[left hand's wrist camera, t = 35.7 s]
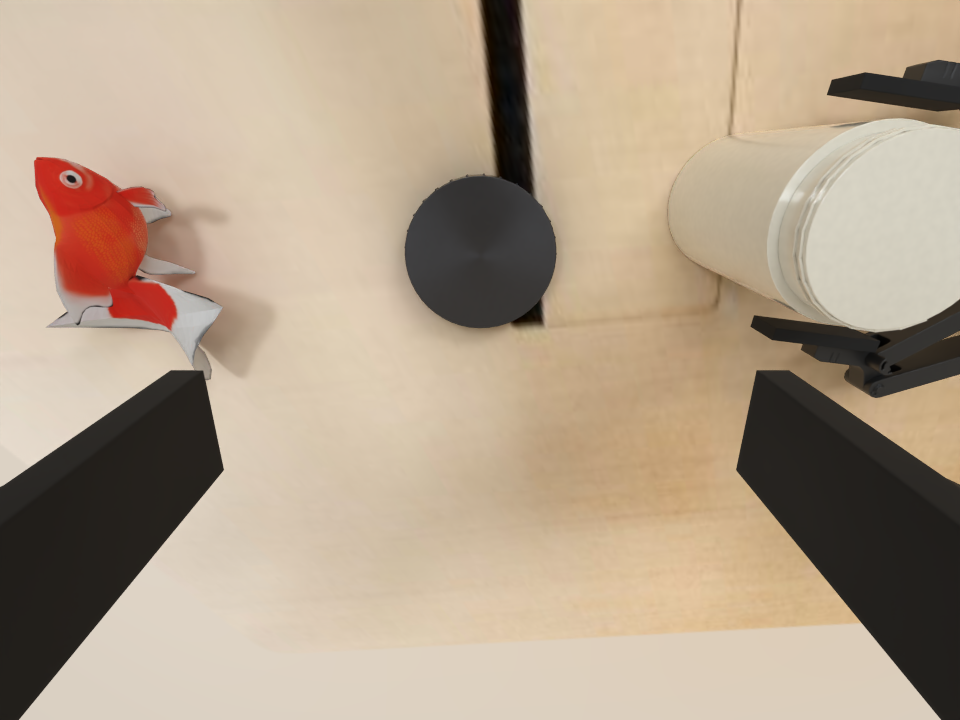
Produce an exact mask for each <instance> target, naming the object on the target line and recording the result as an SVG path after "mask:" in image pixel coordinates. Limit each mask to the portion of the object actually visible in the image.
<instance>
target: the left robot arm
mask: <svg viewBox="0 0 960 720" xmlns="http://www.w3.org/2000/svg"><path fill="white" fill-rule="evenodd" d="M223 470H224V468H223V464H222V459H221V454H220V449H219V444H218V439H217V434H216V430H215V425H214V420H213V415H212V410H211V405H210V401H209V396H208V391H207V386H206V381H205V376H204V371H203V370H171V371H169V372H168V373H167V374H165V375H164V376H162V377H161V378H159V379H158V380H156V381H155V382H153V383H152V384H151V385H149V386H148V387H146V388H145V389H143V390H142V391H140V392H139V393H137V394H136V395H135V396H133V397H132V398H130V399H129V400H127V401H126V402H124V403H123V404H121V405H120V406H119V407H117V408H116V409H114V410H113V411H111V412H110V413H108V414H107V415H105V416H104V417H102V418H101V419H100V420H98V421H97V422H95V423H94V424H92V425H91V426H89V427H88V428H86V429H85V430H84V431H82V432H81V433H79V434H78V435H76V436H75V437H73V438H72V439H70V440H69V441H68V442H66V443H65V444H63V445H62V446H60V447H59V448H57V449H56V450H54V451H53V452H52V453H50V454H49V455H47V456H46V457H44V458H43V459H41V460H40V461H38V462H37V463H36V464H34V465H33V466H31V467H30V468H28V469H27V470H25V471H24V472H22V473H21V474H20V475H18V476H17V477H15V478H14V479H12V480H11V481H9V482H8V483H6V484H5V485H4V486H1V487H0V720H19V719H20V718H21V716H22V715H23V714H24V713H25V712H26V710H27V709H28V708H29V707H30V705H31V704H32V703H33V702H34V701H35V699H36V698H37V697H38V696H39V695H40V693H41V692H42V691H43V690H44V688H45V687H46V686H47V685H48V684H49V682H50V681H51V680H52V679H53V677H54V676H55V675H56V674H57V673H58V671H59V670H60V669H61V668H62V666H63V665H64V664H65V663H66V662H67V660H68V659H69V658H70V657H71V655H72V654H73V653H74V652H75V651H76V649H77V648H78V647H79V646H80V645H81V643H82V642H83V641H84V640H85V638H86V637H87V636H88V635H89V634H90V632H91V631H92V630H93V629H94V628H95V626H96V625H97V624H98V623H99V621H100V620H101V619H102V618H103V616H104V615H105V614H106V613H107V612H108V611H109V609H110V608H111V607H112V606H113V604H114V603H115V602H116V601H117V599H118V598H119V597H120V596H121V595H122V593H123V592H124V591H125V590H126V589H127V587H128V586H129V585H130V584H131V582H132V581H133V580H134V579H135V578H136V576H137V575H138V574H139V573H140V572H141V570H142V569H143V568H144V567H145V565H146V564H147V563H148V562H149V561H150V559H151V558H152V557H153V556H154V554H155V553H156V552H157V551H158V550H159V548H160V547H161V546H162V545H163V544H164V542H165V541H166V540H167V539H168V537H169V536H170V535H171V534H172V533H173V531H174V530H175V529H176V528H177V526H178V525H179V524H180V523H181V522H182V520H183V519H184V518H185V517H186V516H187V514H188V513H189V512H190V511H191V509H192V508H193V507H194V506H195V505H196V503H197V502H198V501H199V500H200V498H201V497H202V496H203V495H204V494H205V492H206V491H207V490H208V489H209V488H210V486H211V485H212V484H213V483H214V481H215V480H216V479H217V478H218V477H219V475H220V474H221V473H222V472H223ZM736 470H737V472H738V473H739V474H740V475H741V477H742V478H743V479H744V480H745V481H746V483H747V484H748V485H749V486H750V488H751V489H752V490H753V491H754V492H755V494H756V495H757V496H758V497H759V498H760V500H761V501H762V502H763V503H764V505H765V506H766V507H767V508H768V509H769V511H770V512H771V513H772V514H773V516H774V517H775V518H776V519H777V520H778V522H779V523H780V524H781V525H782V526H783V528H784V529H785V530H786V531H787V533H788V534H789V535H790V536H791V537H792V539H793V540H794V541H795V542H796V544H797V545H798V546H799V547H800V548H801V550H802V551H803V552H804V553H805V554H806V556H807V557H808V558H809V559H810V561H811V562H812V563H813V564H814V565H815V567H816V568H817V569H818V570H819V572H820V573H821V574H822V575H823V576H824V578H825V579H826V580H827V581H828V582H829V584H830V585H831V586H832V587H833V589H834V590H835V591H836V592H837V593H838V595H839V596H840V597H841V598H842V600H843V601H844V602H845V603H846V604H847V606H848V607H849V608H850V609H851V611H852V612H853V613H854V614H855V615H856V617H857V618H858V619H859V620H860V621H861V623H862V624H863V625H864V626H865V628H866V629H867V630H868V631H869V632H870V634H871V635H872V636H873V637H874V638H875V640H876V641H877V642H878V643H879V645H880V646H881V647H882V648H883V649H884V651H885V652H886V653H887V654H888V656H889V657H890V658H891V659H892V660H893V662H894V663H895V664H896V665H897V666H898V668H899V669H900V670H901V671H902V673H903V674H904V675H905V676H906V677H907V679H908V680H909V681H910V682H911V684H912V685H913V686H914V687H915V688H916V690H917V691H918V692H919V693H920V694H921V696H922V697H923V698H924V699H925V701H926V702H927V703H928V704H929V705H930V707H931V708H932V709H933V710H934V712H935V713H936V714H937V715H938V716H939V718H940V719H941V720H960V485H959V484H957V483H955V482H953V481H951V480H949V479H947V478H945V477H943V476H942V475H940V474H939V473H938V472H936V471H935V470H933V469H932V468H930V467H929V466H927V465H926V464H924V463H923V462H922V461H920V460H919V459H917V458H916V457H914V456H913V455H911V454H910V453H908V452H907V451H906V450H904V449H903V448H901V447H900V446H898V445H897V444H895V443H894V442H892V441H891V440H890V439H888V438H887V437H885V436H884V435H882V434H881V433H879V432H878V431H876V430H875V429H874V428H872V427H871V426H869V425H868V424H866V423H865V422H863V421H862V420H860V419H859V418H858V417H856V416H855V415H853V414H852V413H850V412H849V411H847V410H846V409H844V408H843V407H841V406H840V405H839V404H837V403H836V402H834V401H833V400H831V399H830V398H828V397H827V396H825V395H824V394H823V393H821V392H820V391H818V390H817V389H815V388H814V387H812V386H811V385H809V384H808V383H807V382H805V381H804V380H802V379H801V378H799V377H798V376H796V375H795V374H793V373H792V372H791V371H789V370H757V371H756V376H755V381H754V386H753V391H752V396H751V401H750V405H749V410H748V415H747V420H746V425H745V430H744V434H743V439H742V444H741V449H740V454H739V459H738V464H737V468H736Z"/></svg>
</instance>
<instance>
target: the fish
mask: <svg viewBox="0 0 960 720" xmlns="http://www.w3.org/2000/svg"><path fill="white" fill-rule="evenodd" d="M34 167H35V183H36V188H37V191H38V195H39V198H40V200H41V201H42V203H43V204H44V206H45V208H46V209H47V211H48V213H49V215H50V218H51V221H52V224H53V228H54V232H55V236H56V242H55V247H54V272H55V282H56V289H57V292H58V294H59V297H60V299H61V301H62V303H63V305H64V307H65V308H66V310H67V311H68V312H66V313H65V314H63V315H62V316H61V317H59V318H58V319H57V320H55V321H54V322H52V323H51V324H50V325H48V326H47V327H91V328H140V329H153V330H163V331H167V332H171V333H172V335H173V336H174V337H175V339H176V340H177V341H178V343H179V344H180V346H181V347H182V349H183V350H184V352H185V353H186V355H187V357H188V359H189V361H190V363H191V364H192V366H193V367H194V369H195V370H203V371H204V376H205V380H210V379H211V372H212V369H211V366H210V363H209V361H208V359H207V357H206V354H205V352H204V351H203V350H202V349H201V348H200V347H199V346H198V345H199V343H200V341H201V339H202V337H203V335H204V334H205V333H206V331H207V330H208V329H209V328H210V326H211V325H212V324H213V322H214V321H215V319H216V318H217V316H218V314H219V313H220V311H221V310H222V308H223V307H221V306H220V305H218V304H217V303H215V302H214V301H212V300H210V299H209V298H206V297H203V296H199V295H196V294H192V293H189V292H186V291H183V290H180V289H177V288H175V287H172V286H169V285H166V284H163V283H160V282H157V281H154V280H151V279H148V278H144V277H141V276H138V275H137V276H136V272H137V269H139V270H141V271H143V272H144V273H147V274H151V275H163V274H195V271H192V270H190V269H187V268H184V267H182V266H179V265H177V264H174V263H170V262H167V261H162V260H158V259H155V258H152V257H149V256H147V255H146V254H145V252H146V249H147V243H148V229H147V223H152V222H155V221H157V220H159V219H162V218H166V217H169V216H171V211H170V210H168V209H167V208H165V205H164V204H163V203H162V202H161V201H160V200H159V199H158V198H157V197H156V196H155V194H154V192H153V191H152V190H150V189H146V188H143V187H131V188H127V189H123V190H122V189H121V188H119V187H118V186H116V185H115V184H113V183H112V182H110V181H109V180H108V179H106V178H105V177H103V176H101V175H99V174H97V173H95V172H93V171H91V170H89V169H88V168H85V167H83V166H81V165H79V164H77V163H74V162H71V161H68V160H65V159H59V158H48V157H37V158H36V160H35V161H34Z"/></svg>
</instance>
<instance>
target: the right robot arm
mask: <svg viewBox="0 0 960 720" xmlns="http://www.w3.org/2000/svg"><path fill="white" fill-rule="evenodd" d="M827 95H830V96H837V97H844V98H851V99H857V100H864V101H871V102H877V103H884V104H891V105H898V106H904V107H911V108H918V109H925V110H931V111H947V110H957V109H959V110H960V63H956V62H948V61H942V60H936V61H931V62H926V63H922V64H917V65H913V66H910V67H907V68H906V71H905V73H904V76H903V78H899V77H892V76H886V75H879V74H873V73H866V72H865V73H861V74H856V75H852V76H847V77H843V78H838V79H834V80H832V81H831V84H830V87H829V90H828V93H827ZM751 327H752V328H754V329H755V330H757V331H759V332H760V333H762V334H763V335H765V336H767V337H768V338H770V339H771V340H776V341H784V342H792V343H800V344H803V346H802V348H801V350H802V351H804V352H806V353H807V354H809V355H811V356H812V357H814V358H816V359H817V360H819V361H822V362H830V363H838V364H846V365H849V369H848V370H847V371H846V372H845V375H844V378H845V380H846V381H847V382H849V383H850V384H852V385H853V386H855V387H857V388H858V389H860V390H862V391H863V392H865V393H867V394H868V395H870V396H872V397H874V398H879V397H883V396H886V395H890V394H893V393H897V392H900V391H903V390H907V389H910V388H914V387H917V386H921V385H924V384H928V383H931V382H935V381H938V380H942V379H945V378H949V377H952V376H955V375H959V374H960V335H958V336H954V337H951V338H947V339H944V338H946V337H948V336H950V335H952V334H954V333H956V332H958V331H960V299H959V300H958V301H957V302H955V303H954V304H953V305H951V306H950V307H948V308H947V309H945V310H944V311H942V312H940V313H938V314H937V315H935V316H933V317H931V318H929V319H927V321H925V322H922V323H919V324H916V325H913V326H911V327H908V328H905V329H902V330H892V331H883V332H868V333H866V334H863V333H861V332H859V331H857V330H855V329H850V328H849V327H841V326H833V325H825V324H817V323H810V322H802V321H794V320H786V319H778V318H770V317H762V316H754V317H753V321H752V324H751ZM942 339H944V340H942ZM940 340H941V341H940Z"/></svg>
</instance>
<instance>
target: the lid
mask: <svg viewBox="0 0 960 720" xmlns="http://www.w3.org/2000/svg"><path fill="white" fill-rule="evenodd" d="M422 202H423V203H422V205H421V206H420V207H419V209H418V210H417V212H416V213H415V214H414V215H413V216H414V217H413V219H412V221H411V223H410V226H409V229H408V230H407V232H408V233H407V237H406V243H405V260H406V267H407V271H408V275H409V278H410V280H411V283H412V285H413V287H414V289H415V291H416V292H417V294H418V295H419V297H420V298H421V300H422V301H423V302H424V303H425V304H426V305H427V306H428V307H429V308H430V309H431V310H432V311H434V312H435V313H436V314H438V315H439V316H441V317H442V318H444V319H446V320H448V321H450V322H452V323H455V324H458V325H461V326H466V327H472V328H490V327H496V326H500V325H503V324H506V323H509V322H511V321H513V320H516V319H517V318H519V317H521V316H522V315H524V314H525V313H526V312H528V311H529V310H530V309H531V308H532V307H533V306H534V305H535V304H536V303H537V302H538V301H539V300H540V298H541V297H542V296H543V294H544V293H545V291H546V289H547V287H548V286H549V283H550V281H551V278H552V276H553V272H554V268H555V262H556V242H555V236H554V232H553V228H552V226H551V223H550V222H551V221H550V220H549V218H548V217H547V215H546V213H545V211H544V210H543V208H542V207H543V206H542V205H540V204H539V203H538V202H537V201H536V200H535V199H534V198H533V197H532V196H531V193H530V192H526V191H525V190H524V189H522V188H521V187H520V186H518V184H517V183H515V182H514V183H513V182H511V181H508V180H506V179H503V178H502V177H501V176H499V177H496V176H491V175H485V174H483V175H471V176H468V175H466V176H465V177H461V178H458V179H455V180H450V182H449V183H447V184H445V185H443V186H442V187H440V188H436V189H435V192H433V193H432V194H431V195H430V196H429V197H428V198H427V199H425V200H423V201H422Z"/></svg>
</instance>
